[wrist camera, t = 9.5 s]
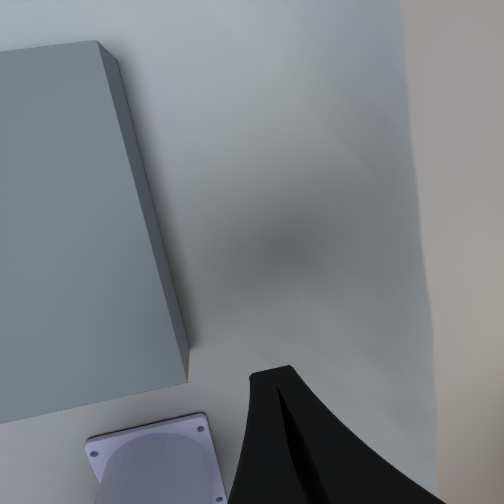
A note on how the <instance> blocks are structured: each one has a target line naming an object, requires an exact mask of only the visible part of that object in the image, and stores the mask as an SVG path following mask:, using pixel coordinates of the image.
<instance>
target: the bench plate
mask: <svg viewBox="0 0 504 504" xmlns="http://www.w3.org/2000/svg"><path fill="white" fill-rule="evenodd" d="M189 351H190V349H189V345H188V341H187V337H186V333H185V329H184V325H183V321H182V317H181V313H180V309H179V305H178V301H177V297H176V293H175V289H174V285H173V281H172V277H171V273H170V269H169V265H168V261H167V257H166V253H165V249H164V245H163V241H162V237H161V233H160V230H159V226H158V222H157V218H156V214H155V210H154V206H153V202H152V198H151V194H150V190H149V186H148V182H147V178H146V174H145V170H144V166H143V162H142V158H141V154H140V150H139V146H138V142H137V138H136V134H135V130H134V126H133V122H132V118H131V114H130V110H129V106H128V102H127V98H126V94H125V91H124V87H123V83H122V79H121V75H120V71H119V67H118V63H117V60H116V59H115V58H114V57H113V56H112V55H111V54H110V53H109V52H108V51H107V50H106V49H105V48H104V47H103V46H102V45H101V44H100V43H99V42H98V41H97V40H94V41H86V42H78V43H70V44H61V45H53V46H45V47H37V48H29V49H21V50H12V51H4V52H0V424H2V423H6V422H11V421H15V420H20V419H25V418H29V417H34V416H38V415H43V414H47V413H52V412H56V411H61V410H65V409H70V408H74V407H79V406H83V405H88V404H92V403H97V402H102V401H106V400H111V399H115V398H120V397H124V396H129V395H133V394H138V393H142V392H147V391H151V390H156V389H160V388H165V387H169V386H174V385H179V384H183V383H188V367H189Z"/></svg>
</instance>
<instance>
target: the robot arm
mask: <svg viewBox="0 0 504 504" xmlns="http://www.w3.org/2000/svg"><path fill="white" fill-rule="evenodd" d="M249 380H250V400H249V411H248V417H247V424H246V431H245V436H244V441H243V445H242V450H241V455H240V459H239V464H238V467H237V471H236V475H235V479H234V483H233V486H232V489H231V493H230V496H229V499H228V501H227V497H226V493H225V489H224V485H223V481H222V477H221V473H220V469H219V465H218V461H217V457H216V453H215V449H214V445H213V441H212V437H211V433H210V429H209V425H208V422H207V418H206V416H205V415H204V414H201V413H200V414H194V415H190V416H186V417H181V418H177V419H173V420H168V421H164V422H159V423H155V424H151V425H146V426H142V427H138V428H133V429H129V430H125V431H120V432H116V433H112V434H107V435H103V436H99V437H94V438H90V439H88V440H87V441H86V443H85V446H84V450H85V453H86V455H87V457H88V460H89V462H90V464H91V466H92V469H93V471H94V473H95V476H96V478H97V480H98V482H99V485H100V487H99V490H98V493H97V497H96V500H95V503H94V504H446V503H444V502H443V501H441V500H440V499H439V498H437V497H436V496H434V495H433V494H431V493H430V492H428V491H427V490H425V489H424V488H422V487H421V486H420V485H418V484H417V483H415V482H414V481H412V480H411V479H409V478H408V477H407V476H405V475H404V474H403V473H401V472H400V471H399V470H397V469H396V468H395V467H393V466H392V465H391V464H390V463H388V462H387V461H386V460H384V459H383V458H382V457H381V456H380V455H378V454H377V453H376V452H375V451H373V450H372V449H371V448H370V447H369V446H367V445H366V444H365V443H364V442H363V441H362V440H360V439H359V438H358V437H357V436H356V435H355V434H354V433H353V432H352V431H351V430H349V429H348V428H347V427H346V426H345V425H344V424H343V423H342V422H341V421H340V420H339V419H338V418H337V417H336V416H335V415H334V414H333V413H332V412H331V411H330V410H329V409H328V408H327V407H326V406H325V405H324V404H323V403H322V402H321V401H320V400H319V398H318V397H317V396H316V395H315V394H314V393H313V392H312V391H311V389H310V388H309V387H308V386H307V385H306V384H305V382H304V381H303V380H302V379H301V377H300V376H299V375H298V373H297V372H296V371H295V369H294V368H293V367H292V366H290V365H287V366H282V367H278V368H273V369H269V370H265V371H260V372H256V373H252V374H251V375H250V377H249ZM199 426H203V427H199ZM95 451H97V452H95Z"/></svg>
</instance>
